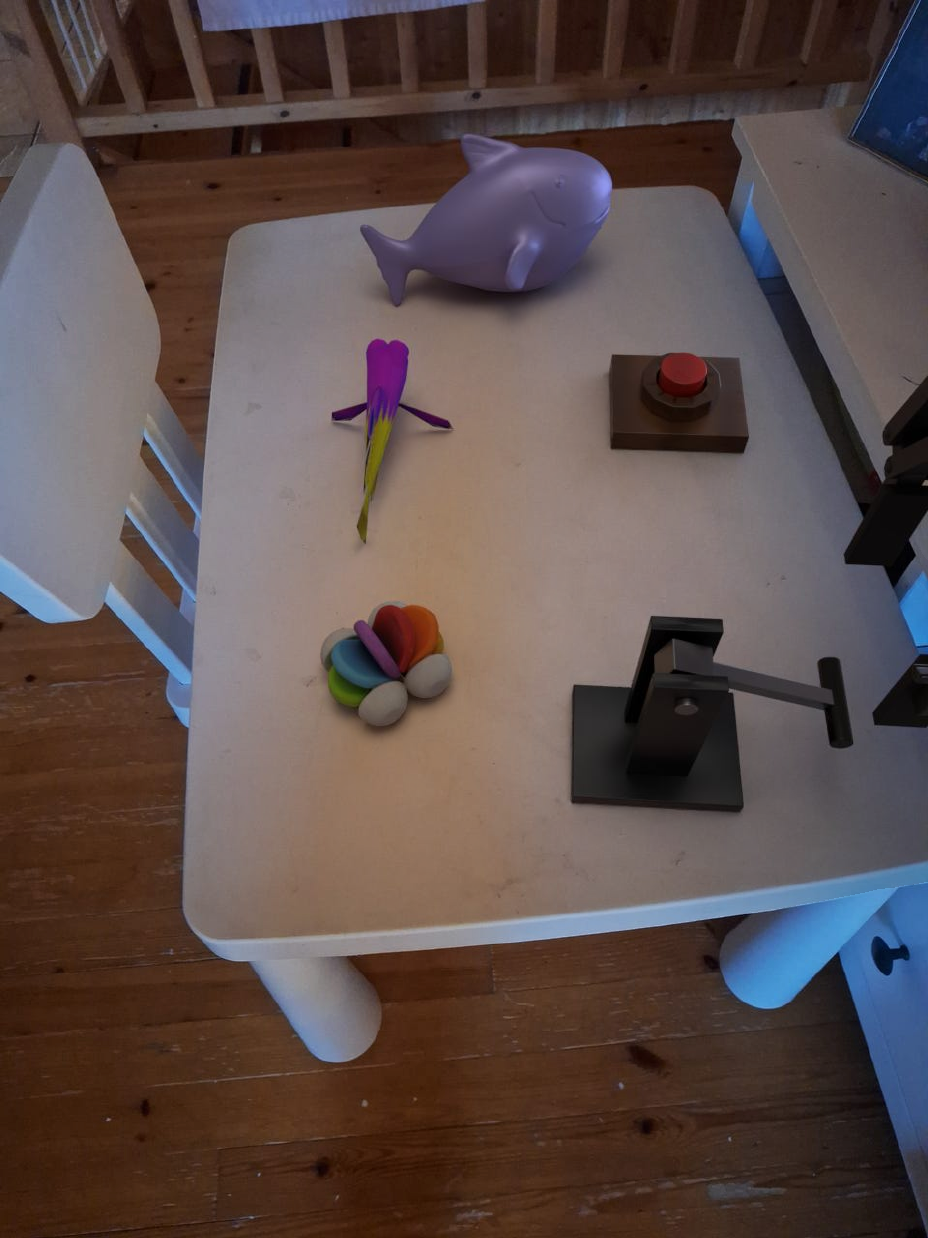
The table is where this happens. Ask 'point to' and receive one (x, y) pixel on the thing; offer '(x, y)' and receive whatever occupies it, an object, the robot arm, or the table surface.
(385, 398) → the toy
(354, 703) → the fanned rainbow disc cluster
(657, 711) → the bracket
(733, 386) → the button block
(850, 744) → the t-handle lever
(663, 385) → the button
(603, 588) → the table surface
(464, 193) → the toy whale
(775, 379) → the table surface
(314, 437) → the table surface
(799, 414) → the table surface
